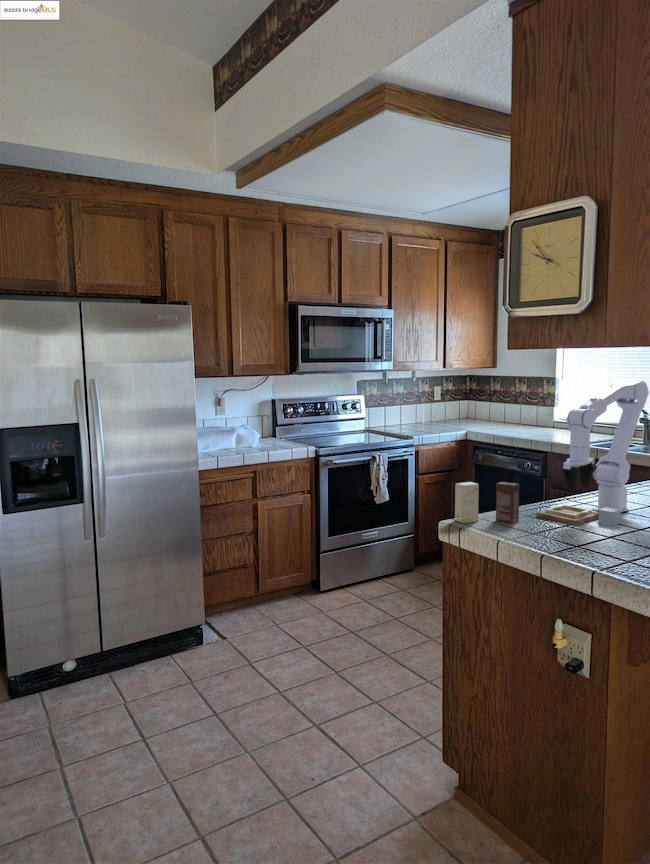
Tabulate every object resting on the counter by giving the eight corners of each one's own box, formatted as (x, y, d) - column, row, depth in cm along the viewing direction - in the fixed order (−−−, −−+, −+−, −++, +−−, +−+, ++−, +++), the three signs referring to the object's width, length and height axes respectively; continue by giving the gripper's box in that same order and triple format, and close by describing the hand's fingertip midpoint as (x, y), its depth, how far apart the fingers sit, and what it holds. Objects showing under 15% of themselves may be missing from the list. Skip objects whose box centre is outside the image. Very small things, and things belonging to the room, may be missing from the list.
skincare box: (462, 523, 191) (463, 485, 189) (454, 520, 195) (454, 483, 193) (479, 521, 193) (479, 483, 192) (470, 518, 197) (470, 481, 196)
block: (605, 521, 192) (606, 507, 191) (620, 524, 188) (620, 509, 187) (598, 523, 189) (598, 509, 188) (612, 526, 185) (613, 512, 185)
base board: (560, 509, 206) (561, 502, 206) (600, 517, 195) (600, 510, 195) (536, 516, 198) (536, 509, 197) (576, 525, 187) (576, 517, 186)
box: (519, 520, 193) (520, 483, 192) (512, 523, 190) (513, 485, 188) (501, 517, 197) (502, 481, 196) (494, 520, 194) (495, 483, 193)
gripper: (580, 443, 201) (579, 483, 202) (555, 447, 192) (553, 489, 194) (601, 445, 195) (599, 487, 197) (576, 449, 186) (574, 493, 188)
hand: (578, 488), depth 195 cm, fingers open, 7 cm apart
